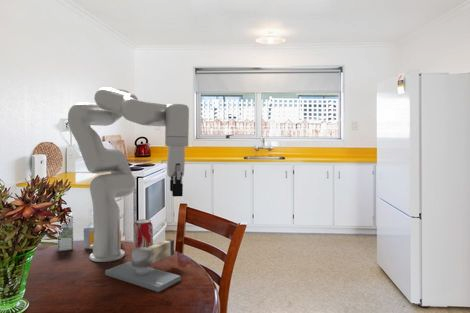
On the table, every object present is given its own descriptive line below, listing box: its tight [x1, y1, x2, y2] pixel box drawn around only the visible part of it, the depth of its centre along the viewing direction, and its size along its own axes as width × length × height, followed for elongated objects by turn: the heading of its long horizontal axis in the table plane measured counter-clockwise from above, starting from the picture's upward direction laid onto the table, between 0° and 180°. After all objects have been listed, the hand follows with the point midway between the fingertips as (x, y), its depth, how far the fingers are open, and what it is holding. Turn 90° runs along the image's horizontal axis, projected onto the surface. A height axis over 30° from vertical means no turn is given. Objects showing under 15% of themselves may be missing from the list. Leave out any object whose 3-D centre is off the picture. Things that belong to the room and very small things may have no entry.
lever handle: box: [131, 238, 175, 268], centre depth 119 cm, size 17×6×5 cm, turn 148°
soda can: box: [134, 218, 154, 249], centre depth 142 cm, size 7×7×12 cm
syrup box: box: [57, 212, 74, 252], centre depth 143 cm, size 6×6×14 cm
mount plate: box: [104, 261, 182, 293], centre depth 115 cm, size 24×10×4 cm, turn 58°
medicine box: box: [83, 222, 94, 250], centre depth 147 cm, size 8×4×9 cm, turn 4°
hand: (176, 193), depth 117 cm, fingers open, 9 cm apart
